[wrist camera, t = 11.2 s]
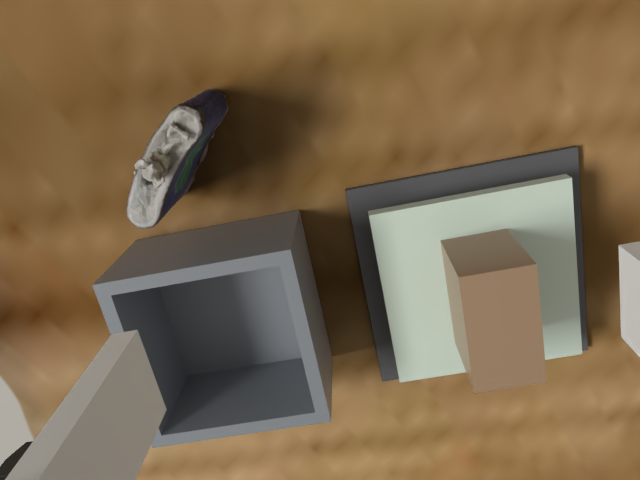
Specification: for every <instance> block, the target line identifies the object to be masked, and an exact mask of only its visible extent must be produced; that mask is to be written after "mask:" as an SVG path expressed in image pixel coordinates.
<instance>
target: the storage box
mask: <svg viewBox="0 0 640 480" xmlns="http://www.w3.org/2000/svg"><path fill="white" fill-rule="evenodd" d="M93 288H94V291H95V293H96V296H97V299H98V301H99V304H100V307H101V309H102V312H103V315H104V318H105V320H106V323H107V326H108V328H109V331H110V334H111V335H112V334H116V333H121V332H127V331H133V330H138V332H139V335H140V338H141V341H142V343H143V346H144V349H145V352H146V354H147V357H148V360H149V363H150V365H151V368H152V371H153V374H154V376H155V379H156V382H157V385H158V387H159V390H160V393H161V396H162V398H163V401H164V404H165V407H166V409H167V410H166V412H165V414H164V417H163V419H162V421H161V423H160V426H159V428H158V430H157V432H156V435H155V437H154V439H153V441H152V444H151V445H152V447H153V448H156V447H162V446H169V445H176V444H183V443H189V442H196V441H203V440H210V439H216V438H223V437H230V436H237V435H244V434H250V433H257V432H264V431H271V430H277V429H284V428H291V427H298V426H304V425H311V424H318V423H325V422H331V402H332V353H331V348H330V344H329V339H328V335H327V330H326V326H325V322H324V317H323V313H322V308H321V304H320V299H319V295H318V290H317V286H316V281H315V277H314V273H313V268H312V264H311V259H310V255H309V250H308V246H307V241H306V237H305V232H304V228H303V223H302V219H301V215H300V210H296V211H291V212H285V213H280V214H275V215H269V216H264V217H258V218H253V219H248V220H242V221H237V222H232V223H226V224H221V225H215V226H210V227H205V228H199V229H194V230H189V231H183V232H178V233H172V234H167V235H162V236H156V237H151V238H146V239H140V240H136V241H135V242H134V243H133V244H132V245H131V246H130V247H129V248H128V249H127V250H126V251H125V252H124V253H123V254H122V255H121V256H120V257H119V258H118V259H117V261H116V262H115V263H114V264H113V265H112V266H111V267H110V268H109V269H108V270H107V271H106V272H105V273H104V274H103V275H102V276H101V277H100V278H99V279H98V280H97V281H96V282H95V283H94V284H93Z"/></svg>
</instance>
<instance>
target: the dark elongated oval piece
mask: <svg viewBox="0 0 640 480" xmlns="http://www.w3.org/2000/svg"><path fill="white" fill-rule="evenodd" d="M227 111H228V104H227V100H226V95H223V94H222V93H221V92H219V91H217V90H214V89H208V90H205V91H204V92H202V93H201V94H198V95H197V96H196V97H194V98H192V99H190V100H187V101H186V102H184V103H182V104H179V105H178V106H176V107H174V108H173V109H172V110H171V111H170V112H169V114H168V115H167V116H166V118H165V119H164V121H163V122H162V123H161V125H160V126H159V128H158V129H157V131H156V132H155V133H154V134H153V136H152V138H151V140H150V141H149V143H148V144H147V147H146V149H145V151H144V153H143V155H142V157H141V159H140V160H139V161H137V163H136V164H135V169H136V171H134V175H135V176H134V178H133V182H132V185H131V189H130V192H129V196H128V202H127V205H126V206H127V216H128V218H129V220H130V221H131V222H132V223H133V224H134V225H136V226H137V227H139V228H151V227H154V226H155V225H156V224H157V223H158V222H159V221H160V220H161V219H162V218H163V217H164V216H165V214H166V213H167V212H168V211H169V209H170V208H171V207H172V206H173V205H174V204H175V203H176V202H177V201H178V200H179V199H180V198H181V197H182V196H183V195H185V194H186V193H187V192H188V191H189V189H190V186H191V184H192V183H193V182H194V179H195V177H194V176H195V172H196V170H197V169H198V166H199V165H200V163H202V162H203V159H204V158H205V157H206V153H207V152H208V148H207V147H208V142H209V140H210V139H211V138H214V131H215V129H216V127H218V126H219V125H221V121H222V120H223V119H224V117H225V115H226V113H227Z"/></svg>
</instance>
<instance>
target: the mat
mask: <svg viewBox="0 0 640 480" xmlns="http://www.w3.org/2000/svg"><path fill="white" fill-rule="evenodd" d="M563 174H567V175H568V176H570V177H572V186H573V203H574V220H575V237H576V254H577V272H578V289H579V306H580V323H581V340H582V351H584V350H588V339H587V319H586V299H585V279H584V258H583V238H582V218H581V198H580V177H579V157H578V147H577V146H572V147H566V148H561V149H556V150H550V151H545V152H540V153H534V154H529V155H524V156H518V157H513V158H508V159H503V160H497V161H492V162H487V163H481V164H476V165H471V166H465V167H460V168H455V169H449V170H444V171H439V172H433V173H428V174H423V175H418V176H412V177H407V178H402V179H396V180H391V181H386V182H380V183H375V184H370V185H364V186H359V187H354V188H348V189H346V195H347V201H348V206H349V211H350V216H351V221H352V226H353V232H354V237H355V242H356V247H357V252H358V257H359V263H360V268H361V273H362V278H363V283H364V288H365V294H366V299H367V304H368V309H369V314H370V319H371V325H372V330H373V335H374V340H375V345H376V350H377V356H378V361H379V366H380V371H381V376H382V381H388V380H395V379H399V375H398V370H397V365H396V359H395V354H394V349H393V343H392V338H391V332H390V327H389V322H388V316H387V311H386V306H385V300H384V295H383V290H382V284H381V279H380V273H379V268H378V263H377V257H376V252H375V247H374V241H373V236H372V230H371V225H370V220H369V214H368V211H371V210H376V209H381V208H387V207H392V206H397V205H403V204H408V203H413V202H419V201H424V200H429V199H435V198H440V197H445V196H451V195H456V194H461V193H467V192H472V191H477V190H483V189H488V188H493V187H499V186H504V185H509V184H515V183H520V182H525V181H531V180H536V179H541V178H547V177H552V176H557V175H563Z"/></svg>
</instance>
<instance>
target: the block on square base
mask: <svg viewBox="0 0 640 480" xmlns="http://www.w3.org/2000/svg"><path fill="white" fill-rule="evenodd" d="M368 214H369V220H370V225H371V230H372V236H373V241H374V247H375V252H376V257H377V263H378V268H379V273H380V279H381V284H382V290H383V295H384V300H385V306H386V311H387V316H388V322H389V327H390V332H391V338H392V343H393V349H394V354H395V359H396V365H397V370H398V375H399V381H400V382H406V381H412V380H419V379H425V378H432V377H438V376H444V375H451V374H457V373H464V372H466V373H467V376H468V378H469V381H470V384H471V386H472V389H473V392H474V393H480V392H486V391H493V390H500V389H506V388H513V387H519V386H526V385H532V384H539V383H546V382H547V377H546V365H545V360H547V359H553V358H560V357H566V356H572V355H579V354H582V340H581V323H580V306H579V289H578V272H577V254H576V237H575V220H574V203H573V186H572V177H570V176H568V175H567V174H563V175H557V176H552V177H547V178H541V179H536V180H531V181H525V182H520V183H515V184H509V185H504V186H499V187H493V188H488V189H483V190H477V191H472V192H467V193H461V194H456V195H451V196H445V197H440V198H435V199H429V200H424V201H419V202H413V203H408V204H403V205H397V206H392V207H387V208H381V209H376V210H371V211H368Z"/></svg>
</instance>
